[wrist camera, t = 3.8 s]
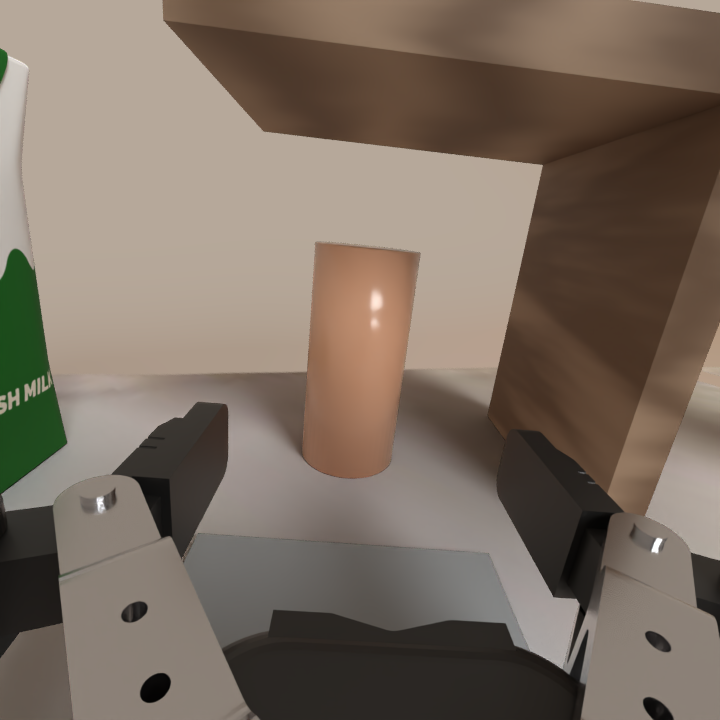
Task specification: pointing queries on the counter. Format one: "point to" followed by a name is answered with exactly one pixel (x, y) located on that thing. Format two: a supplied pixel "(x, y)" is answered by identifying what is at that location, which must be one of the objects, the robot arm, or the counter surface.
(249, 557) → the slate mat
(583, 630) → the robot arm
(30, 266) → the milk carton
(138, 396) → the counter surface
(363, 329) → the peach cylinder
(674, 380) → the walnut shelf
